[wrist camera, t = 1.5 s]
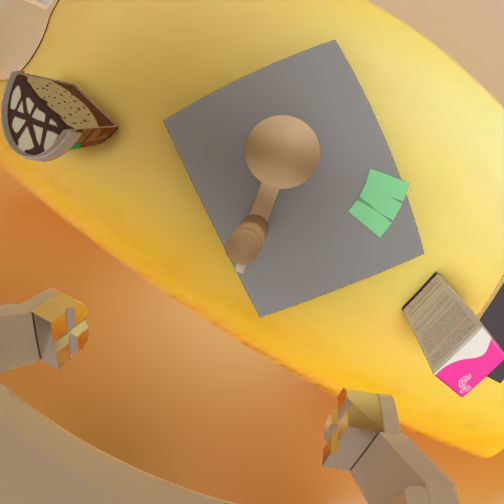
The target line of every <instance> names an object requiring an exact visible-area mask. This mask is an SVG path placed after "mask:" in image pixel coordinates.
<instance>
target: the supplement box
mask: <svg viewBox="0 0 504 504" xmlns="http://www.w3.org/2000/svg"><path fill="white" fill-rule="evenodd" d="M402 310H403V312H404V314H405V316H406V318H407V320H408V322H409V324H410V326H411V328H412V330H413V332H414V334H415V336H416V338H417V340H418V342H419V344H420V346H421V348H422V351H423V353H424V355H425V357H426V359H427V361H428V363H429V365H430V368H431V370H432V372H433V374H434V375H435V376H436V377H437V378H439V379H440V380H441V381H442V382H444V383H445V384H446V385H447V386H448V387H450V388H451V389H452V390H453V391H455V392H456V393H457V394H458V395H459V396H461V397H463V396H465V395H466V394H467V393H468V392H469V391H471V390H472V389H473V388H474V387H475V386H476V385H477V384H478V383H479V382H480V381H482V380H483V379H484V378H485V377H486V376H487V375H488V374H489V373H490V372H491V371H492V370H493V369H495V368H496V367H497V366H498V365H499V364H500V363H501V362H502V361H503V360H504V352H503V350H502V349H501V348H500V346H499V345H498V344H497V342H496V341H495V340H494V338H493V337H492V336H491V334H490V333H489V332H488V330H487V329H486V328H485V327H484V325H483V324H482V323H481V321H480V320H479V319H478V318H477V316H476V315H475V314H474V313H473V311H472V310H471V309H470V308H469V306H468V305H467V304H466V303H465V302H464V300H463V299H462V298H461V297H460V296H459V295H458V293H457V292H456V291H455V290H454V289H453V288H452V287H451V286H450V284H449V283H448V282H447V281H446V280H445V279H444V278H443V277H442V276H441V275H440V274H439V273H438V272H435V274H433V275H432V277H431V278H430V279H429V280H428V281H427V282H426V283H425V284H424V286H423V287H422V288H421V289H420V290H419V291H418V292H417V293H416V294H415V295H414V296H413V297H412V298H411V299H410V300H409V301H408V302H407V303H406V304H405V305H404V306H403V308H402Z"/></svg>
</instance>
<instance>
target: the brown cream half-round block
mask: <svg viewBox="0 0 504 504" xmlns="http://www.w3.org/2000/svg"><path fill="white" fill-rule="evenodd" d="M1 121H2V128H3V132H4V136H5V138H6V140H7V142H8V144H9V146H10V147H11V148H12V149H13V151H14V152H16V153H17V154H18V155H21V156H22V157H24V158H27V159H30V160H36V161H43V162H44V161H51V160H54V159H56V158H58V157H60V156H62V155H63V154H65V153H66V152H67V151H68V150H70V149H75V148H80V147H85V146H91V145H96V144H99V143H101V142H103V141H105V140H106V139H108V138H109V137H110V136H111V135H112V134H113V133H115V131H116V130H117V129H118V127H119V126H118V125H117V124H116V123H115V122H114V121H112V120H111V119H110V118H109V117H108V116H107V115H106V114H105V113H104V112H103V111H102V110H101V109H100V108H99V107H98V106H97V105H96V104H95V103H94V102H93V101H92V100H91V99H89V98H88V97H87V96H86V95H85V94H84V93H83V92H82V91H81V90H80V89H79V88H78V87H77V86H76V85H75V84H71V83H67V82H63V81H58V80H54V79H50V78H45V77H40V76H36V75H31V74H26V73H24V71H12V72H11V74H10V77H9V79H8V81H7V84H6V87H5V91H4V94H3V100H2V108H1Z"/></svg>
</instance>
